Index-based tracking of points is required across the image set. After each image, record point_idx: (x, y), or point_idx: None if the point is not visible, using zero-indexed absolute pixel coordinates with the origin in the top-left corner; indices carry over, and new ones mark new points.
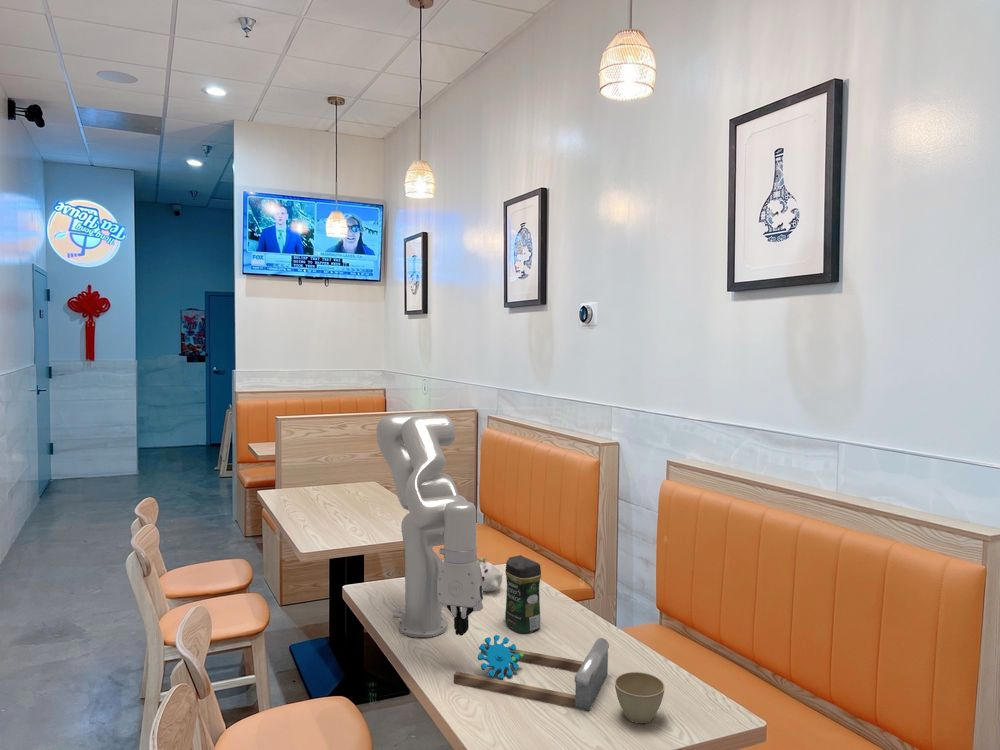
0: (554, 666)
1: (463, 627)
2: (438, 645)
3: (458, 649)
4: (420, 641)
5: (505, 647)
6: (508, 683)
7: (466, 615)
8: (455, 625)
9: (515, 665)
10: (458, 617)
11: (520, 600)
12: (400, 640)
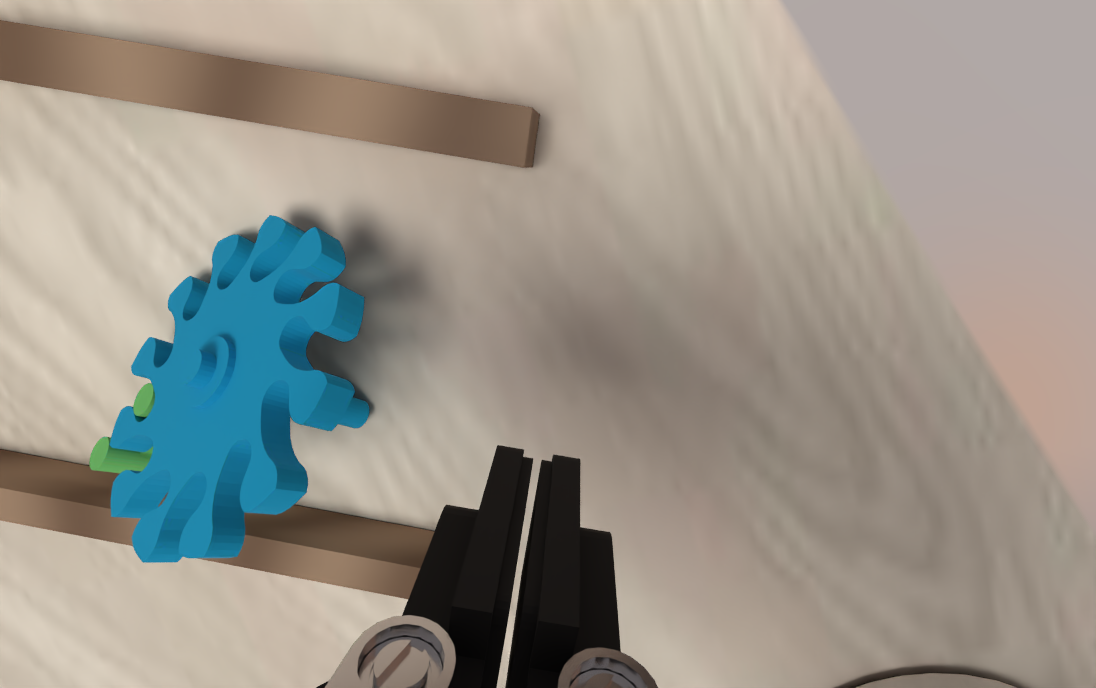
0: (14, 457)
1: (470, 532)
2: (775, 603)
3: (634, 574)
4: (908, 636)
5: (166, 463)
6: (66, 62)
7: (340, 684)
8: (577, 530)
9: (147, 358)
10: (531, 661)
11: None
12: (1055, 633)
